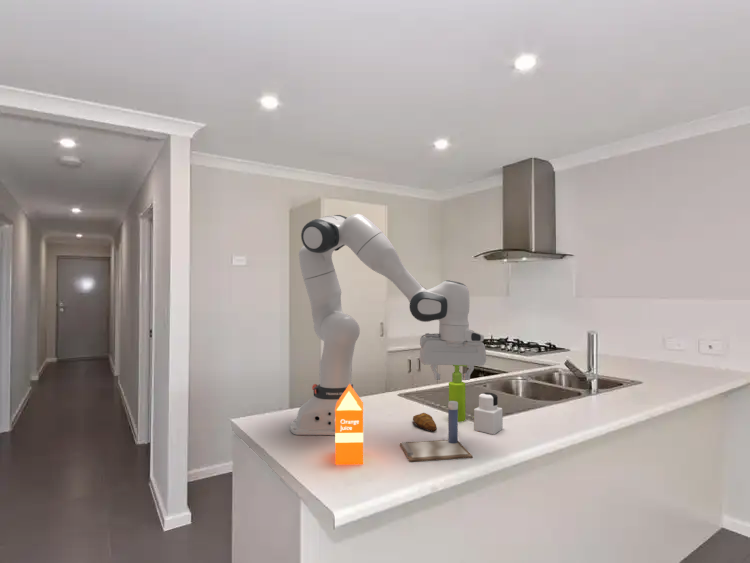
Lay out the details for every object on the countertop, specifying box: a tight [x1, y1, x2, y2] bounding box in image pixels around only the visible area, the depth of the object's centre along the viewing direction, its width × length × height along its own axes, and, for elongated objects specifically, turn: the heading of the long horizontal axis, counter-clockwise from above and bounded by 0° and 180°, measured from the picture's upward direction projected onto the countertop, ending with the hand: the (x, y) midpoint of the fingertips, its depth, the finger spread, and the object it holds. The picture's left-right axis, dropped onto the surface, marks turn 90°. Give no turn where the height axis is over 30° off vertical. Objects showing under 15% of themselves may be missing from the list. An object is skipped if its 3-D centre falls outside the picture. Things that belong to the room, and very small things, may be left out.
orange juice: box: [334, 384, 364, 466], centre depth 122 cm, size 8×9×20 cm
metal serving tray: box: [399, 439, 474, 463], centre depth 127 cm, size 18×13×2 cm
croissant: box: [412, 412, 437, 433], centre depth 149 cm, size 14×7×5 cm, turn 25°
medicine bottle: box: [473, 392, 504, 435], centre depth 145 cm, size 7×7×12 cm
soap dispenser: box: [448, 365, 467, 423], centre depth 156 cm, size 6×7×20 cm
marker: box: [447, 400, 459, 443], centre depth 132 cm, size 3×3×12 cm
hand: (451, 379), depth 132 cm, fingers open, 8 cm apart
